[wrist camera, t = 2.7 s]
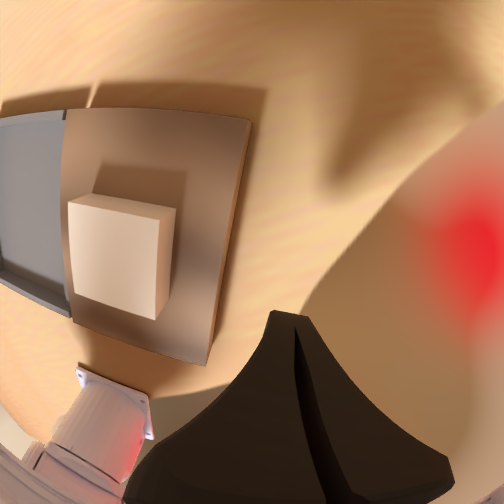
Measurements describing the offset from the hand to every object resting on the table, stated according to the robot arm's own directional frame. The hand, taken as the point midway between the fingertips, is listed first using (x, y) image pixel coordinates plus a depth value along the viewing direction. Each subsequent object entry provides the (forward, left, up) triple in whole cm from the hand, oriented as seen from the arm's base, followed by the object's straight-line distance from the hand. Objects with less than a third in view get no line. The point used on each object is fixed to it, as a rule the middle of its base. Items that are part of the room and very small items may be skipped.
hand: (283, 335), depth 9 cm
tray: (0, +19, -6) cm, 20 cm away
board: (0, +8, -6) cm, 10 cm away
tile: (0, +8, -4) cm, 9 cm away
